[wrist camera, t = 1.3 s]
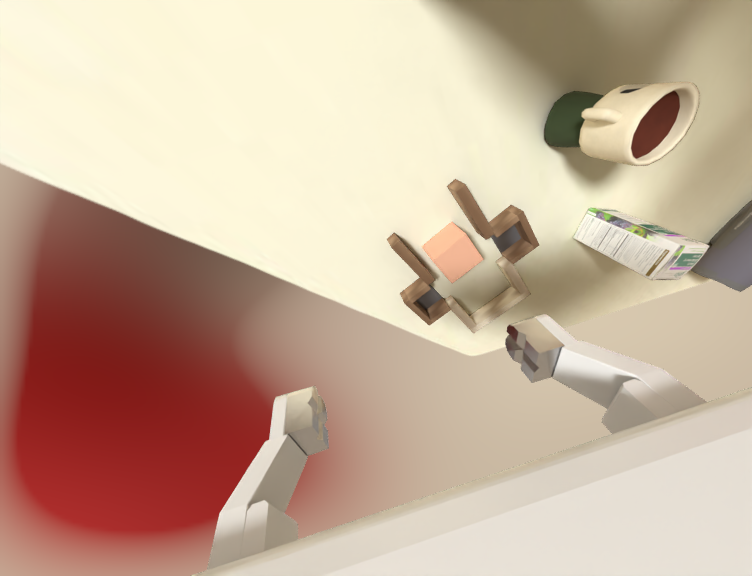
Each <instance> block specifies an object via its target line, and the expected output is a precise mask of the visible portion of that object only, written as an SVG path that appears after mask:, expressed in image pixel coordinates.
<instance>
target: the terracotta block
mask: <svg viewBox="0 0 752 576" xmlns="http://www.w3.org/2000/svg"><path fill="white" fill-rule="evenodd" d="M422 248H423V249H424V250H425V252H426V253H427V254H428V256H429V257H430V258H431V260H432V261H433V262H434V263H435V264H436V266H437V267H438V268H439V269H440V270H441V271H442V272H443V274H444V275H445V276H446V277H447V278H448V279H449V281H450V282H451V283H453V282H455V281H456V280H457V279H459V278H460V277H461V276H463V275H464V274H465V273H467V272H468V271H469V270H471V269H472V268H473V267H474V266H476V265H477V264H478V263H480V262H481V261H482V260H484V259H483V258H482V256H481V255H480V253H479V252H478V251H477V249H476V248H475V246H474V245H473V243H472V242H471V240H470V239H469V237H468V236H467V235H466V233H464V232H463V231H462V230H461V229H460V228H458V227H457V226H456V225H455V224H454V223H453V222H451V223H449V224H448V225H447V226H446V227H445V228H443V229H442V230H441V231H440V232H439V233H437V234H436V235H435V236H434V237H433V238H431V239H430V240H429V241H428V242H427V243H425V244H424V245H423V246H422Z"/></svg>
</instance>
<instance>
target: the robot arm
mask: <svg viewBox="0 0 752 576" xmlns="http://www.w3.org/2000/svg"><path fill="white" fill-rule="evenodd" d="M507 332H508V334H509V335H508V337H507V338H506V342H505V345H506V348H507V351H508V353H509V355H510V356H511V358H512V359H513V360H514V361H516V362H518V363H521V370H522V371H523V372H524V374H525V375H526V376H527V377H528V378H529V380H530V381H531V382H532V383H533V382H537V381H540V380H543V379H546V378H550V377H553V379H555V380H557V381H559V382H560V383H562V384H564V385H566V386H568V387H569V388H571V389H573V390H575V391H577V392H579V393H580V394H582V395H584V396H585V397H587V398H589V399H591V400H593V401H595V402H596V403H598V404H600V405H602V406H603V407H605V408H607V411H606V413H605V415H604V416H603V418H602V423H603V424H604V425H605V426H606V428H607V429H608V430H609V431H610V432H611V433H612V434H611V435H608V436H605V437H602V438H599V439H596V440H593V441H590V442H587V443H584V444H581V445H578V446H576V447H572V448H569V449H566V450H563V451H560V452H557V453H554V454H552V455H549V456H546V457H543V458H540V459H537V460H534V461H531V462H528V463H525V464H522V465H519V466H516V467H513V468H510V469H507V470H504V471H501V472H498V473H495V474H492V475H489V476H486V477H483V478H480V479H477V480H474V481H471V482H468V483H465V484H462V485H459V486H456V487H453V488H451V489H448V490H444V491H442V492H439V493H436V494H433V495H430V496H427V497H424V498H421V499H418V500H415V501H412V502H409V503H406V504H403V505H400V506H397V507H394V508H391V509H388V510H385V511H382V512H379V513H376V514H373V515H370V516H367V517H364V518H361V519H359V520H355V521H352V522H349V523H347V524H344V525H341V526H337V527H334V528H332V529H329V530H325V531H322V532H319V533H316V534H314V535H311V536H308V537H305V538H302V539H299V540H298V524H297V522H296V521H295V520H293V519H292V518H290V517H289V516H287V515H286V514H284V513H285V510H286V508H287V506H288V504H289V501H290V498H291V496H292V494H293V491H294V489H295V487H296V484H297V482H298V479H299V477H300V475H301V472H302V470H303V468H304V465H305V463H306V460H307V458H308V457H307V456H308V455H312V454H314V453H317V452H320V451H322V450H325V449H328V448H329V445H328V430H327V429H326V427H325V426H324V424H325V423H326V421H327V412H326V407H325V403H324V401H323V399H322V397H321V396H318V391H317V389H316V387H315V386H313V387H309V388H306V389H303V390H299V391H295V392H292V393H288V394H285V395H282V396H278V397H276V399H275V401H274V406H273V415H272V422H271V430H270V439H269V440H268V441H266V442H265V443H264V444H263V446H262V448H261V449H260V451H259V452H258V454H257V456H256V457H255V459H254V460H253V462H252V463H251V465H250V466H249V468H248V470H247V471H246V473H245V474H244V476H243V478H242V479H241V481H240V482H239V484H238V486H237V487H236V489H235V490H234V492H233V493H232V495H231V497H230V498H229V500H228V501H227V503H226V504H225V506H224V507H223V509H222V511H221V512H220V514H219V519H218V523H217V528H216V532H215V537H214V541H213V545H212V550H211V554H210V559H209V563H208V568H207V570H206V571H203V572H200V573H198V574H195V575H192V576H752V387H751V388H748V389H745V390H742V391H739V392H736V393H733V394H730V395H727V396H724V397H721V398H718V399H715V400H712V401H709V402H706V401H705V400H703V399H702V398H701V397H699V396H698V395H696V394H695V393H694V392H693V391H691V390H690V389H689V388H687V387H686V386H685V385H683V384H682V383H681V382H679V381H678V380H677V379H675V378H674V377H673V376H671V375H670V374H669V373H667V372H666V371H665V370H663V369H661V368H659V367H656V366H653V365H650V364H647V363H644V362H641V361H639V360H636V359H633V358H630V357H627V356H624V355H621V354H619V353H616V352H613V351H610V350H607V349H604V348H602V347H599V346H596V345H593V344H590V343H587V342H585V341H579V342H578V341H577V340H576V339H575V338H574V337H572V336H571V335H570V334H569V333H568V332H567V331H566V330H564V329H563V328H562V327H561V326H560V325H559V324H558V323H556V322H555V321H554V320H553V319H552V318H551V317H550V316H548V315H546V314H542V315H539V316H536V317H533V318H528V319H525V320H522V321H519V322H516V323H513V324H510V325H509V326H508V327H507Z"/></svg>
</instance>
